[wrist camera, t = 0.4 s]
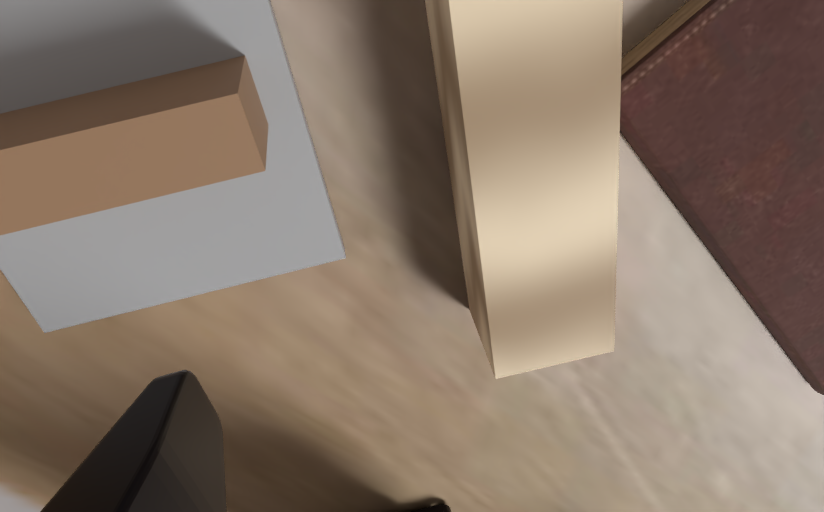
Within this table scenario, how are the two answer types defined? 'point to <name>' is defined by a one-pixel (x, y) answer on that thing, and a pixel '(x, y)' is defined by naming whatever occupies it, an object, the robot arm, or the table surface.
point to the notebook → (743, 150)
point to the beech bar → (533, 170)
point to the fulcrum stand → (151, 155)
